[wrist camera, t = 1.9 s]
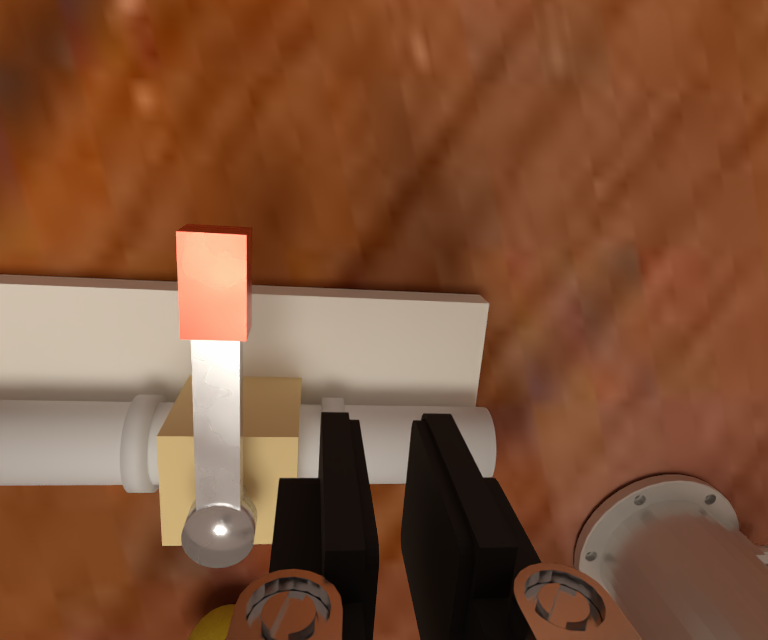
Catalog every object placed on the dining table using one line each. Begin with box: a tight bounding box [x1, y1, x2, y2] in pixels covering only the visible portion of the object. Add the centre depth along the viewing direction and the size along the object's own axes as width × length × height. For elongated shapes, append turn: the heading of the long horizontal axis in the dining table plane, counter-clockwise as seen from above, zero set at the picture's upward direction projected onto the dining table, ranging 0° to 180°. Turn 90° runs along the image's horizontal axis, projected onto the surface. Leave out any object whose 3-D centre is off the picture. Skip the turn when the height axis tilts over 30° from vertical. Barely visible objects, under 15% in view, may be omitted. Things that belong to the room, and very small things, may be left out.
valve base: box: [0, 274, 496, 546], centre depth 30 cm, size 28×12×10 cm, turn 86°
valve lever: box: [176, 224, 257, 568], centre depth 23 cm, size 14×3×2 cm, turn 176°
